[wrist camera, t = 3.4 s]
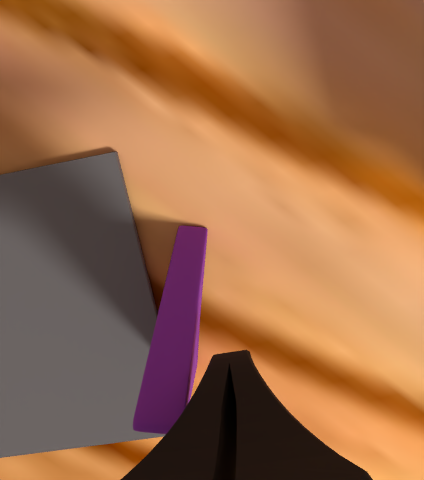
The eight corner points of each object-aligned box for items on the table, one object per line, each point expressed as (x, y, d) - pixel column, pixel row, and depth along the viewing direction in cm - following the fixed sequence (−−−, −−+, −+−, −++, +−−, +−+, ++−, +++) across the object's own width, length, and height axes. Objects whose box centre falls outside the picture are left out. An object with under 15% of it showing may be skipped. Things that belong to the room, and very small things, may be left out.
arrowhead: (183, 272, 24) (174, 181, 15) (206, 274, 24) (209, 184, 15) (161, 432, 19) (130, 431, 10) (190, 434, 19) (182, 435, 10)
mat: (117, 151, 18) (114, 151, 17) (186, 428, 22) (185, 433, 21) (-122, 199, 19) (-129, 200, 18) (-11, 454, 23) (-15, 459, 23)
